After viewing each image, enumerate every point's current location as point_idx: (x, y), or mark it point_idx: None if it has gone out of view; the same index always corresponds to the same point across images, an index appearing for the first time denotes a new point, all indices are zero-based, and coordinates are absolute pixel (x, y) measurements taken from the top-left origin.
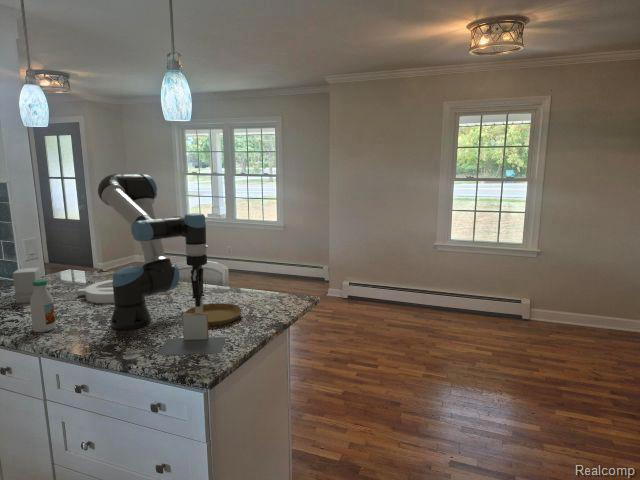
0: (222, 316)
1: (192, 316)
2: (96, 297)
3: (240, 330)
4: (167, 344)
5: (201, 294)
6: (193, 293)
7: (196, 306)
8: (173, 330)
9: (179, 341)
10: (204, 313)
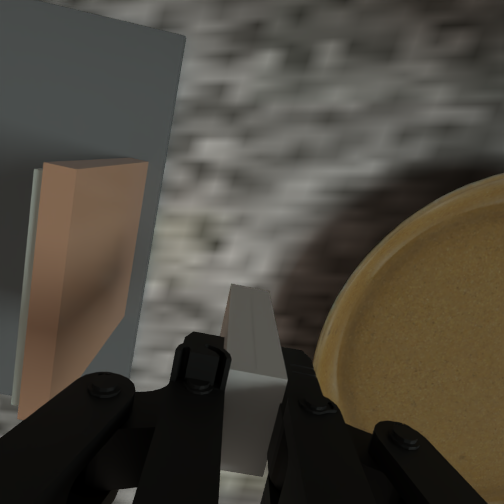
0: (488, 418)
1: (29, 268)
2: None
3: (223, 491)
4: (73, 42)
5: (265, 497)
6: (10, 440)
7: (190, 336)
8: (356, 81)
9: (112, 128)
10: (44, 394)
